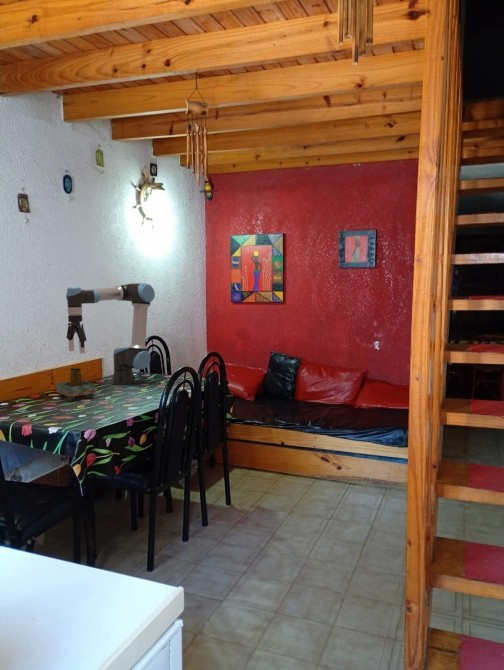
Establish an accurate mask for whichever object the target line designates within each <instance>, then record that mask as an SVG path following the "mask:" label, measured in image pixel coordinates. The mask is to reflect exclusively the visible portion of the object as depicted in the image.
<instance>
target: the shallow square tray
mask: <svg viewBox="0 0 504 670" xmlns="http://www.w3.org/2000/svg"><path fill="white" fill-rule="evenodd" d="M56 393H57V394H58V397H59V398H64V397H65V396H66V397H68V398H67V400H68V401H70V402H74V401H75V397H76V396H78V397H79V396H83V395H87V396H86V397H87V398H88V399H93V398H94V396H95V395H94V394H96V383H91V382H88V381H85V380H82V386H75V387H70V381H65V382H58V383H56Z"/></svg>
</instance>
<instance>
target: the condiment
mask: <svg viewBox="0 0 504 670" xmlns="http://www.w3.org/2000/svg"><path fill="white" fill-rule="evenodd" d="M82 381H83V379H82V372H81V368H80V367H78V366H77V367H70V374H69V382H70V387H75V386H82Z"/></svg>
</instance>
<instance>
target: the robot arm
mask: <svg viewBox="0 0 504 670" xmlns="http://www.w3.org/2000/svg"><path fill="white" fill-rule="evenodd" d="M155 296H156V295H155V289H154V288H153V286H152V285H151V284H150V283H145V282H144V283H143V282H142V283H141V282H138V283H133V282H132V283H128V284H127V283H126V284H122V285H115V286H114V287H103V288H90V289H88V288H87V289H82V287H80V286H74V287H73V286H72V287H71V286H69V287H67V289H66V295H65V299H66V301H67V309H66V310H67V313H68V316H67V321H68V323H67V324H68V325H67V330H66V331H67V332H66V339H67V341H68V352H74V351H75V343H74V342H75V341H74V339H75V338H74V336H75V334H76V335H77V338H78V339H79V340H78V343H79V345H78V346H79V347H78V348H79V349H78V351H79V354H80V355H81V354H85V353H86V351H85V350H86V349H85V348H86V347H85V342H87V337H86V333H85V329H84V323H81V322H83V315H82V314H83V308H82V307H83V304H88V305H89V304H97V303H99V302H102V301H104V302H105V301H112V300H116V301H118V302H119V301H122V302H123V301H124V302H131V305H132V307H133V312H132V313H133V314H132V327H131V328H132V330H131V344H130V346H128V347H119V348H115V349H114V350H113V374H112V377H111V384H112V385H118V386H120V385H121V386H125V385H126V386H127V385H132V384H135V383H136V377H135V375H134V372H133V369H134V370H144V369H146V368H147V367H148V366H149V365H150V362H151V358H152V357H151V354H150V353H149V352H148V347H147V346H146V338H147V321H148V308H149V307H150V306H151V302H153V300H154V299H155Z"/></svg>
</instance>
